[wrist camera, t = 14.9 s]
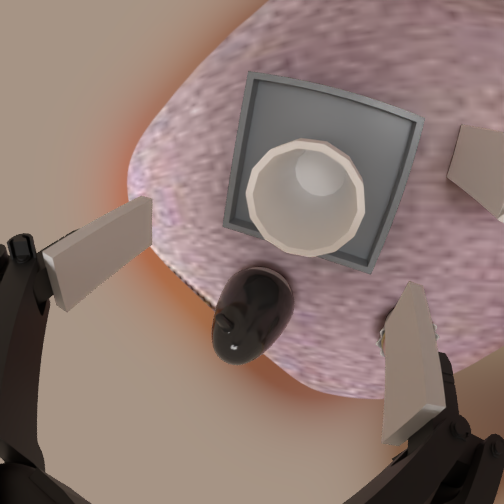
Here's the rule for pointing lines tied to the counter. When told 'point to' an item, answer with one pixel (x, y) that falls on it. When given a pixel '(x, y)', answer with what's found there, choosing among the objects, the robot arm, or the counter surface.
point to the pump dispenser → (251, 314)
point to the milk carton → (480, 167)
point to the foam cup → (306, 197)
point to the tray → (336, 133)
